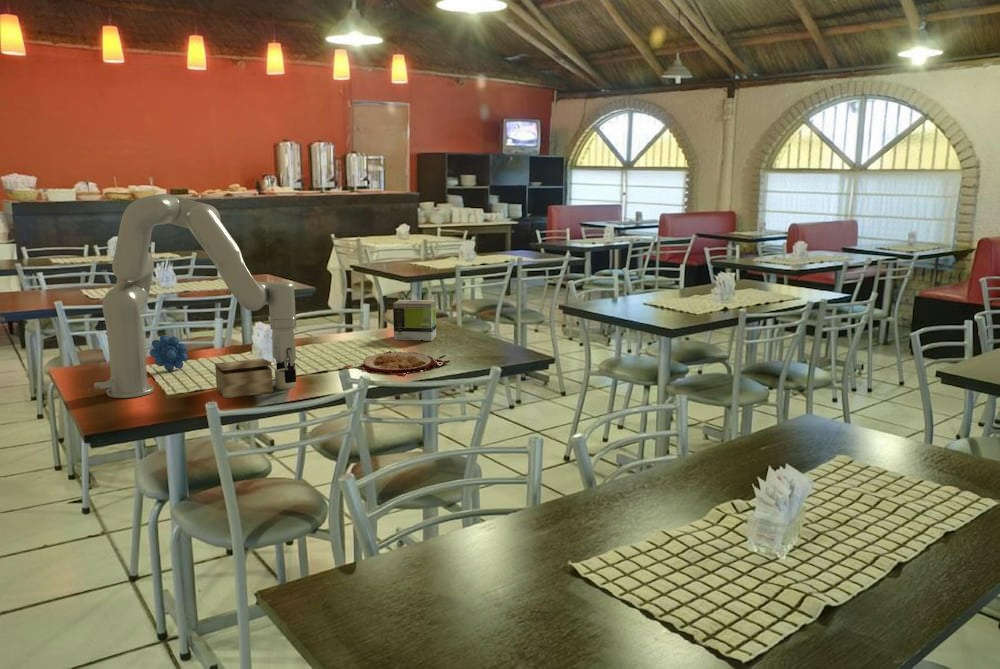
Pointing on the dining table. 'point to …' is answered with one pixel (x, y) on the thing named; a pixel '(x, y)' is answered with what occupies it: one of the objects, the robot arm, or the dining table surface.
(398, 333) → the tea box
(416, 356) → the plate with food
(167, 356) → the blue flower
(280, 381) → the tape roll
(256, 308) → the robot arm
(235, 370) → the carton
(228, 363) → the lid
